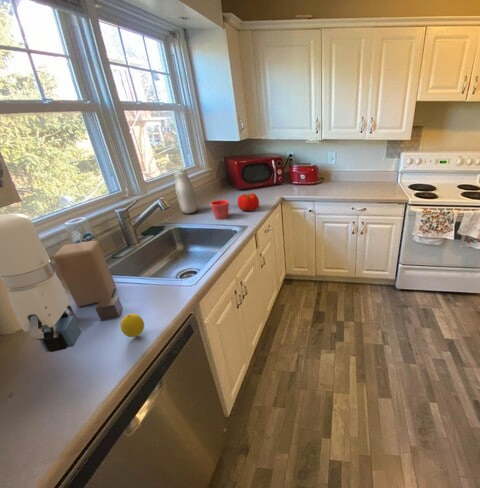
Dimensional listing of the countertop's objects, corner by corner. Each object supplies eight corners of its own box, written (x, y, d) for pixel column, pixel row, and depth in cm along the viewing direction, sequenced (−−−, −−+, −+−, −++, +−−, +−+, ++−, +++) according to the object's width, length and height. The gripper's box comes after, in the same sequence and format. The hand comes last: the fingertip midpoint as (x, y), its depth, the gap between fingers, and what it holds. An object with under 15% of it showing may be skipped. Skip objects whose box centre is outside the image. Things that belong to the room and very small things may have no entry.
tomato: (257, 205, 196) (255, 191, 191) (261, 211, 185) (259, 195, 180) (237, 208, 191) (235, 193, 186) (240, 214, 180) (238, 198, 176)
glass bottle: (189, 209, 189) (179, 167, 177) (201, 211, 186) (192, 168, 174) (178, 214, 181) (167, 170, 169) (190, 216, 178) (180, 171, 165)
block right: (101, 321, 89) (95, 308, 87) (105, 311, 94) (100, 299, 91) (119, 317, 91) (114, 304, 89) (122, 308, 95) (118, 296, 93)
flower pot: (225, 213, 182) (223, 198, 178) (234, 217, 175) (231, 202, 171) (210, 217, 176) (207, 202, 171) (218, 221, 169) (215, 206, 164)
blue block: (46, 352, 62) (36, 335, 60) (56, 337, 66) (47, 320, 64) (74, 346, 64) (65, 329, 62) (81, 331, 68) (74, 315, 66)
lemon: (133, 329, 86) (125, 308, 82) (151, 329, 86) (143, 308, 82) (121, 342, 81) (112, 321, 77) (140, 343, 81) (131, 321, 77)
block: (76, 308, 95) (50, 256, 87) (85, 292, 103) (62, 244, 95) (111, 300, 99) (90, 250, 90) (117, 286, 107) (98, 238, 98)
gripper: (27, 258, 63) (59, 321, 71) (-24, 302, 49) (24, 375, 57) (68, 253, 66) (95, 314, 73) (31, 293, 51) (69, 364, 59)
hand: (64, 340), depth 65 cm, fingers closed on blue block, 5 cm apart
